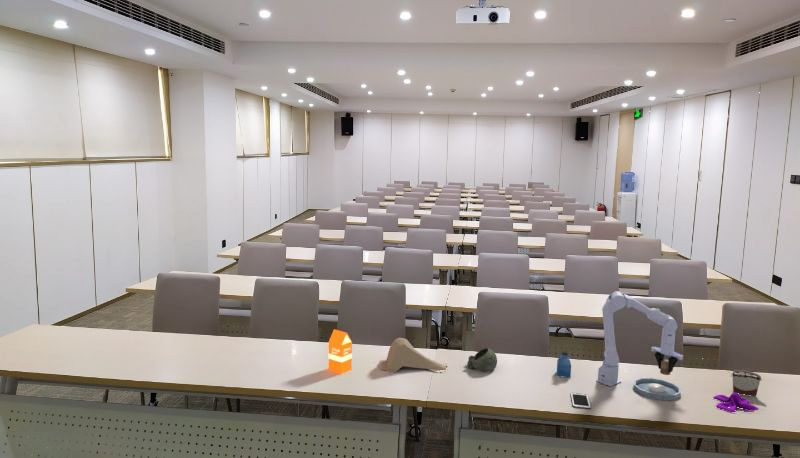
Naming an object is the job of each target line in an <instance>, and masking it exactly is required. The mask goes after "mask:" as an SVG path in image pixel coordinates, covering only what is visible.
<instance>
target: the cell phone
mask: <svg viewBox="0 0 800 458" xmlns="http://www.w3.org/2000/svg"><path fill="white" fill-rule="evenodd" d="M570 399H571V400H572V401H571V406H572V408H574V407H578V409H583V408H586V410H591V409H592V406H591V400H590V397H589V395H588V394H587V393H580V392H579V393H578V392H570Z"/></svg>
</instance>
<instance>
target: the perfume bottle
mask: <svg viewBox="0 0 800 458" xmlns="http://www.w3.org/2000/svg"><path fill="white" fill-rule="evenodd" d="M556 360H557V361H556V375H557V377H558V376H564V377H563V378H568V377H570V378H572V377H571V373H572V363H571V360H570V358H569V351H568V350H561V353H560V356H559V357H558V359H556Z"/></svg>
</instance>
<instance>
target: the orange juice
mask: <svg viewBox="0 0 800 458" xmlns="http://www.w3.org/2000/svg"><path fill="white" fill-rule="evenodd" d="M352 360H353V341H352V340H351V338H350V336H349V334H348V333H347V332H345V331H342V330H338V329H335V328H334V329H333V331H332V333H331V335H330V337H329V340H328V371H331V372H334V373H336V374H340V375H343V374H345V373H347V372H349V371H352V369H353V368H352V367H353V366H352V365H353V364H352V363H353V361H352Z"/></svg>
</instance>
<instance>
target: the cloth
mask: <svg viewBox="0 0 800 458" xmlns="http://www.w3.org/2000/svg"><path fill="white" fill-rule="evenodd" d="M712 398H714V399H718V400H721V401H723V402H721V401H720V402H719V403H717V404H716V405H715V406H716V407H717V408H716V409H718V408H720V409H719V410H722V409H724V410H723V411H725V410H727V411H726V412H728V411H730V412H729V413H731V412H737V410H738V409H739V408H743V409H747V410H756V411H759V410H760V408H759V407H758V406H755V405H753V404H751V402H750V400H749V399H747V398H745V397H741V395H739V394H738V393H733V392H732V393H731V394H730V396H727V395H725V394H717V395H714V396H712ZM714 399H713V400H714ZM718 400H717V401H718ZM724 402H725V403H724ZM749 402H750V403H749ZM728 407H730V408H728ZM737 407H739V408H738V409H737ZM736 409H737V410H736ZM758 409H759V410H758ZM735 410H736V411H735ZM747 410H743V411H744V412H751V411H747ZM744 412H743V413H744Z"/></svg>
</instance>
